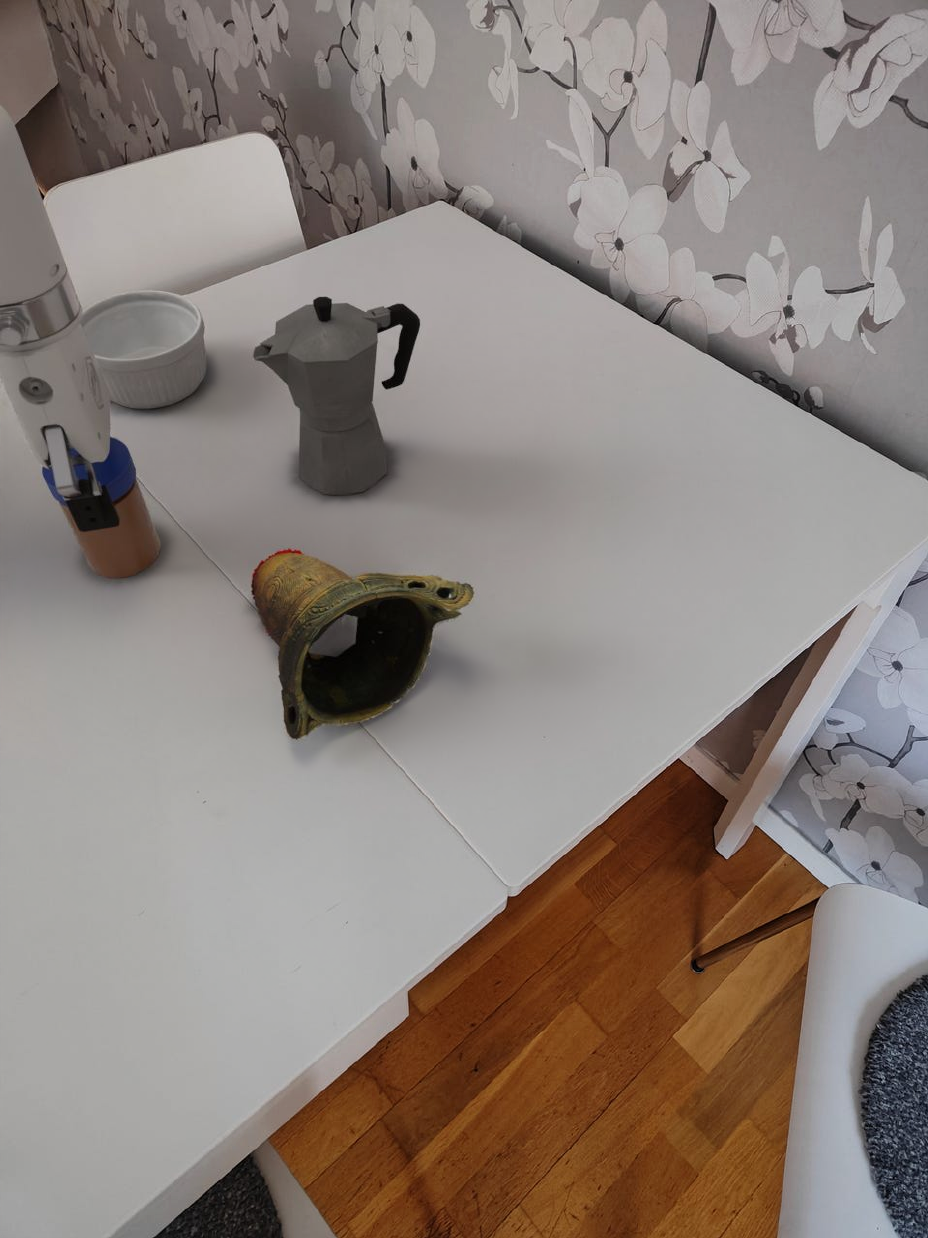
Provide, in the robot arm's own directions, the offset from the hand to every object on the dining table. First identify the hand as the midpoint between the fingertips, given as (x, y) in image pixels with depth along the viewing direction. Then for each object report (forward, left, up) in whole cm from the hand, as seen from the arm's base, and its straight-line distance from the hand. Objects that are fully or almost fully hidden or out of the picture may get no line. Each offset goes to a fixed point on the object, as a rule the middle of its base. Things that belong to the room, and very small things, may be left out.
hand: (100, 494), depth 73 cm
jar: (0, 0, -7) cm, 7 cm away
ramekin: (0, +26, -7) cm, 27 cm away
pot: (+20, -15, -7) cm, 26 cm away
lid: (0, 0, +3) cm, 3 cm away
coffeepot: (+21, +10, -7) cm, 24 cm away
